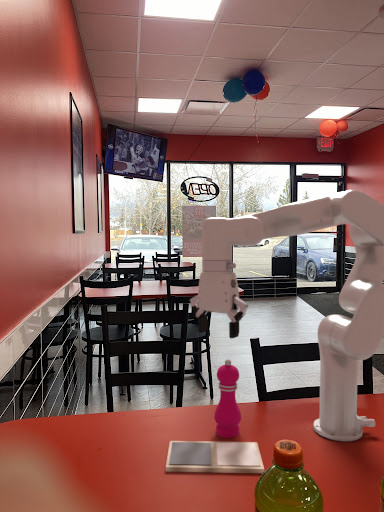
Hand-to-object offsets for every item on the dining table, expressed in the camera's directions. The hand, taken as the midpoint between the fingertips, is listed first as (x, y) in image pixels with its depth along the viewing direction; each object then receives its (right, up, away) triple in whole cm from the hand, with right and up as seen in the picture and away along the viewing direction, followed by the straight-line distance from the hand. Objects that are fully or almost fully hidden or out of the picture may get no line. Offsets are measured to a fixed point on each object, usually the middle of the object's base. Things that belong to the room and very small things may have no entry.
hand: (218, 334), depth 104 cm
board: (-1, -28, -6) cm, 29 cm away
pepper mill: (+3, -28, +7) cm, 29 cm away
